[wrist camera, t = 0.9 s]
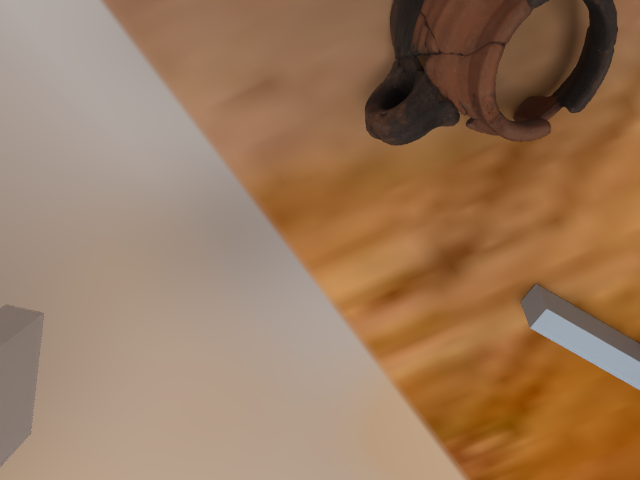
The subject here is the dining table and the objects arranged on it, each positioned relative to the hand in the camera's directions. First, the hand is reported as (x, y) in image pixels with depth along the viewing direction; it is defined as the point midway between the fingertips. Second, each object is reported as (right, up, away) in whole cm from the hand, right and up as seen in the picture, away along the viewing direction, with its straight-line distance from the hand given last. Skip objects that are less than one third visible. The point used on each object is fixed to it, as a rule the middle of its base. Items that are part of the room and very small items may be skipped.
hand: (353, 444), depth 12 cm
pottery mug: (+7, +14, +20) cm, 25 cm away
